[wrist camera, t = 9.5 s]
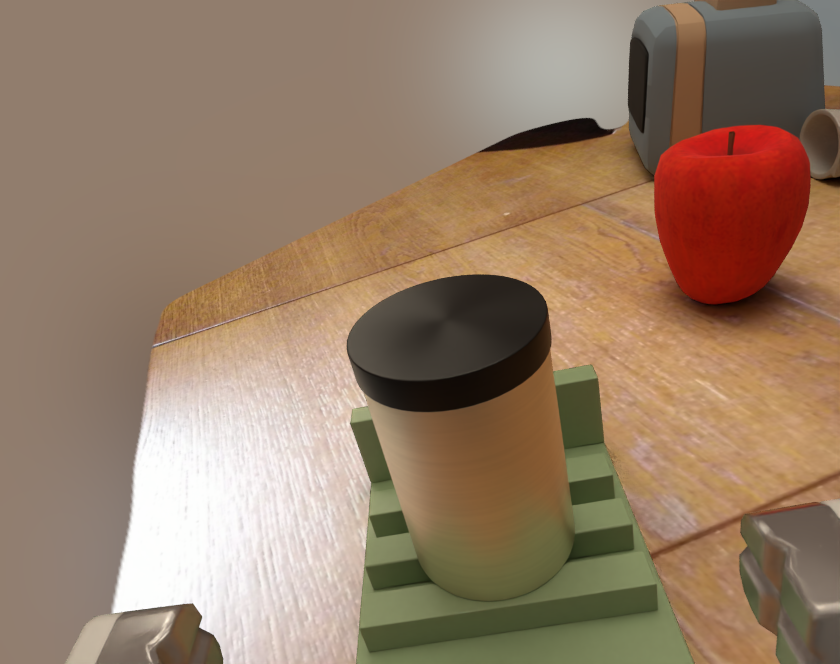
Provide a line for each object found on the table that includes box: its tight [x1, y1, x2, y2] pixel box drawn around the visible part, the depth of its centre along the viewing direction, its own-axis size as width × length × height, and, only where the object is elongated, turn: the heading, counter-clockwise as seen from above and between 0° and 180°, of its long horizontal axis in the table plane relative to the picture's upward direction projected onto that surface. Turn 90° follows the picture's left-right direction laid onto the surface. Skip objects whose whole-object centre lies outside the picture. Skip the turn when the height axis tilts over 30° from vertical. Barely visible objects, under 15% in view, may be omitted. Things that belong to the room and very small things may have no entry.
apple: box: [654, 125, 810, 305], centre depth 39 cm, size 9×9×11 cm
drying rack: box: [350, 365, 694, 664], centre depth 26 cm, size 14×12×5 cm
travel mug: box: [347, 275, 575, 601], centre depth 23 cm, size 7×7×10 cm
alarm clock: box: [628, 0, 825, 175], centre depth 63 cm, size 16×16×16 cm
